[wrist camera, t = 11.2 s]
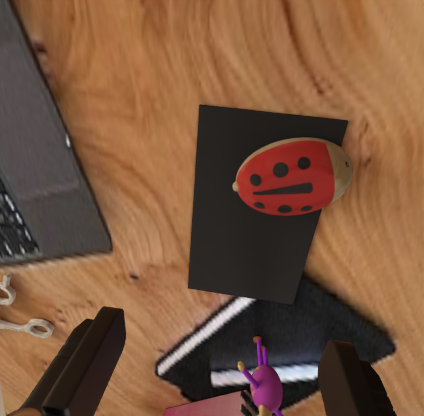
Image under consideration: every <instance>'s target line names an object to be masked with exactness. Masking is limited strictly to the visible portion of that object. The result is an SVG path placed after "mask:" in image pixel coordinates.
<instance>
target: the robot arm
mask: <svg viewBox="0 0 424 416" xmlns="http://www.w3.org/2000/svg"><path fill="white" fill-rule="evenodd" d="M125 340H126V329H125V320H124V311H123V309H119V308H113V307H106V306H104V307H102V308H101V309H100V311H99V312H98V314H97V316H96V317H95V319H94V320H92V319H86V320H84V321H83V322H82V323H81V324H80V325H78V326H77V327H76V328H75V329H74V330H73V331H72V333H71V334H70V336H69V337H68V339H67V340H66V342H65V345H63V346H62V348H61V349H60V351H59V352H58V355H57V356H56V357H55V358H54V360H53V361H52V363H51V364H50V366H49V367H48V369H47V370H46V372H45V373H44V375H43V376H42V378H41V379H40V381H39V382H38V384H37V385H36V387H35V388H34V390H33V391H32V393H31V394H30V396H29V397H28V399H27V400H26V401H25V403H24V404H23V405H22V406H21V407H20V408H19V409H18V410H16V411H14V412H12V413H10V414H8V415H7V416H94V414H95V412H96V409H97V407H98V405H99V403H100V400H101V398H102V396H103V394H104V391H105V389H106V387H107V385H108V382H109V380H110V378H111V376H112V373H113V371H114V369H115V367H116V364H117V362H118V360H119V358H120V355H121V353H122V351H123V348H124V345H125ZM318 380H319V385H320V389H321V394H322V398H323V402H324V407H325V411H326V415H327V416H397V415H396V413H395V411H393V406H392V404H391V402H390V399H389V397H387V393H386V390H385V388H384V386H383V383H382V381H381V379H380V377H379V375H378V374H377V373H376V372H375V370H374V369H373V368H372V367H371V365H370V364H369V363H368V362H367V361H362V360H359V358H358V355H357V353H356V350H355V348H354V346H353V344H351V343H348V342H342V341H335V340H329V341H328V343H327V345H326V348H325V350H324V353H323V355H322V358H321V360H320V363H319V366H318Z"/></svg>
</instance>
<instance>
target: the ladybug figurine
mask: <svg viewBox="0 0 424 416" xmlns="http://www.w3.org/2000/svg"><path fill="white" fill-rule="evenodd" d="M352 177H353V165H352V161H351V159H350V157H349V155H348V154H347V153H346V152H345V151H344V150H343V149H342V148H341V147H340V146H338V145H336V144H334V143H332V142H329V141H327V140H323V139H319V138H308V137H303V138H291V139H286V140H281V141H277V142H274V143H272V144H269V145H267V146H264V147H262V148H261V149H259V150H257V151H256V152H254V153H253V154H252V155H250V156H249V157H248V158H247V159H246V160H245V161H244V162H243V164H242V165H241V167H240V168H239V170H238V173H237V176H236V181H235V182H234V183H233V190H234V191H236V192H238V194H239V196H240V197H241V199H242V200H243V201H244V202H245V203H246V204H247V205H249V206H250V207H252V208H254V209H256V210H258V211H260V212H263V213H267V214H272V215H282V216H291V215H300V214H305V213H309V212H313V211H316V210H319V209H321V208H323V207H326V206H328V205H329V204H331V203H333V202H334V201H336V200H337V199H338V198H340V197H341V196H342V195H343V194H344V193H345V191H346V190H347V189H348V187H349V185H350V183H351V181H352Z"/></svg>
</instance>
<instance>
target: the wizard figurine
mask: <svg viewBox="0 0 424 416" xmlns="http://www.w3.org/2000/svg"><path fill="white" fill-rule="evenodd" d="M253 341H254V342H255V343H257V351H258V367H257V368H256V369H255V370H254V372H253V374H252V375H251V374H250V373H249V372H248V370H247V369H246V368H245V367H244V364H243V362H242V361H239V362H238V369H239V370H240V371H241V372H242V373H243V374H244V375H245V377H246V378H247V379H248V380H249V381H250V387H251V394H252V398H253V400H254V402H253V401H251V398H250V397H249V396H248V395H247V394H246V392H244V390H241V394H240V397H241V396H242V399H244V401H245V402H246V404H247V405H248V406H250V408H252V411H253V412H255V414H256V415H257V416H272V413H275V414H276V415H277V416H283V414H282V413H281V412H280V411H279V410H278V408H279V407H280V404H281V401H282V385H281V381H280V378H279V376H278V374H277V372H276V371H275V370H274V369H273V368H272V367H271V366H269V365H268V356H267V347H266V346H261V341H262V339H261V337H259V336H256V337H254V338H253ZM262 353H263V358H262ZM263 359H264V364H263ZM254 403H255V404H256V405H254ZM240 411H241V413H242V414H243V415H246V416H249V415H250V416H252V413H251V412H249V410H248V409H246V406H244V404H241V410H240Z"/></svg>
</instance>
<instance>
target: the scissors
mask: <svg viewBox="0 0 424 416" xmlns="http://www.w3.org/2000/svg"><path fill="white" fill-rule="evenodd" d="M11 277H12V274H11V273H9V272H8V273H7V274H5V275H4V276H3V282H0V289H2V290H5V291H6V292H7V294H8V295H9V298H7V299H6V298H2V297H0V305H10V304H11V303H12V302H13V301H14V300H15V298H16V294H15V290H14V289H13V288H12V287H11V286H10V285H9V284H10V278H11ZM36 325H38V326H43V327H45V328H46V329H47V331H48V332H46V333H45V332H41V331H38V330H36V329H35V328H34V327H33V326H36ZM0 329H12V330H14V331H22V330H23V331H25V332H27V333H29V334H31V335H33V336H36V337H40V338H47V337H49V336H50V335H51V334H52V333H53V331H54V327H53V325H52V324H51V323H50V322H48V321H46V320H43V319H31V320H30V321H29V322H28V324H25V325H18V324H13V323H10V322H7V321H3V320H0Z"/></svg>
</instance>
